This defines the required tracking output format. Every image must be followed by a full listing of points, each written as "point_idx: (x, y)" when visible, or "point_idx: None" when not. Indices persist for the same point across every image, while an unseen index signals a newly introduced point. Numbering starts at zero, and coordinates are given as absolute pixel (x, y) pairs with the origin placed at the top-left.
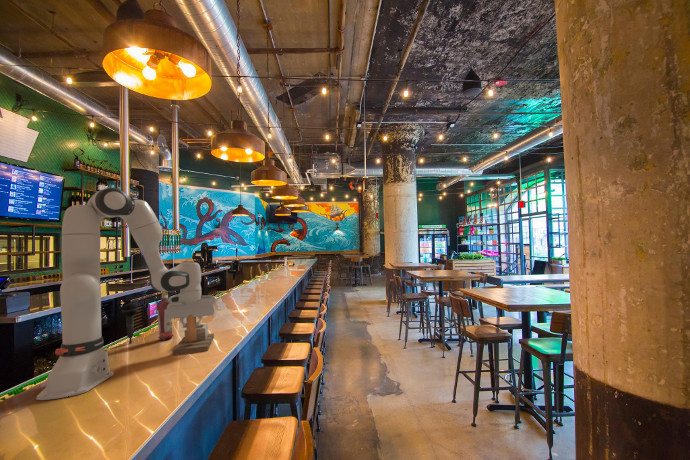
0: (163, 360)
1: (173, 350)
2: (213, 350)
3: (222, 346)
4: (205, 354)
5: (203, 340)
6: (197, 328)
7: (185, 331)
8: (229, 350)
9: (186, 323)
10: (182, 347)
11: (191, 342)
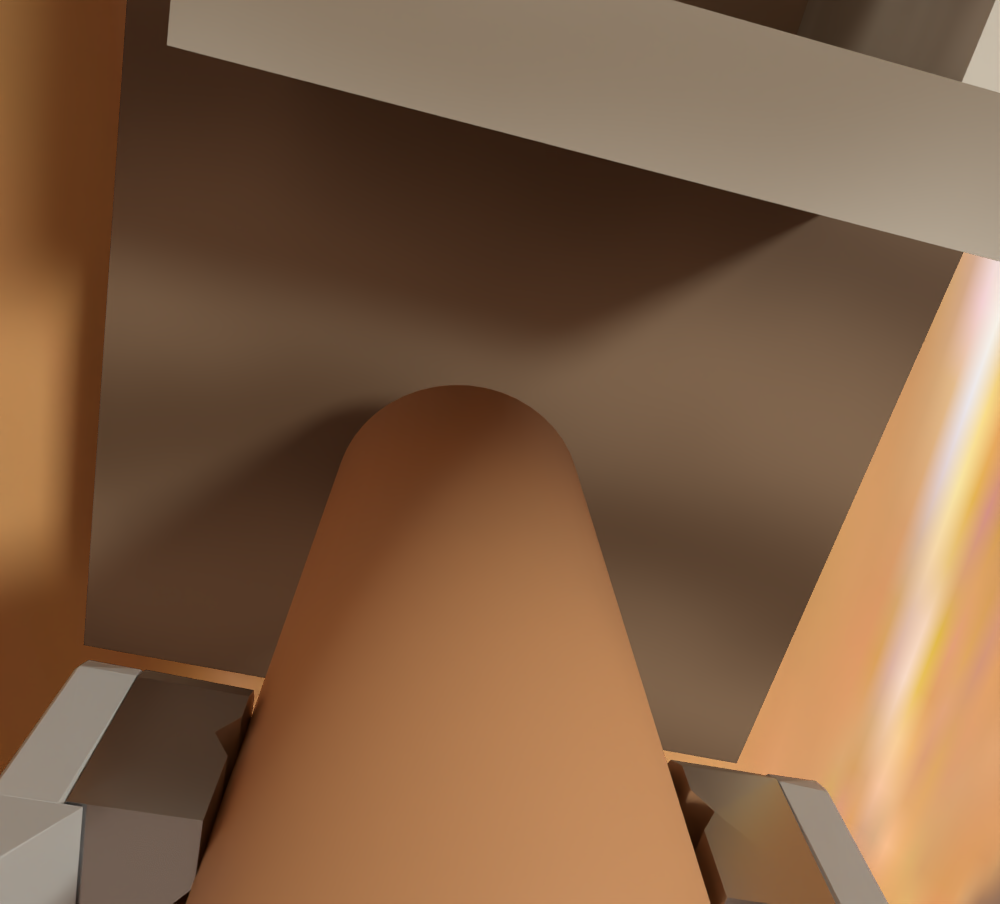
0: (10, 752)
1: (95, 639)
2: (794, 741)
3: (995, 623)
4: None
5: (763, 262)
6: (744, 102)
7: (227, 60)
8: (990, 877)
9: (182, 885)
10: (262, 544)
11: (462, 242)
